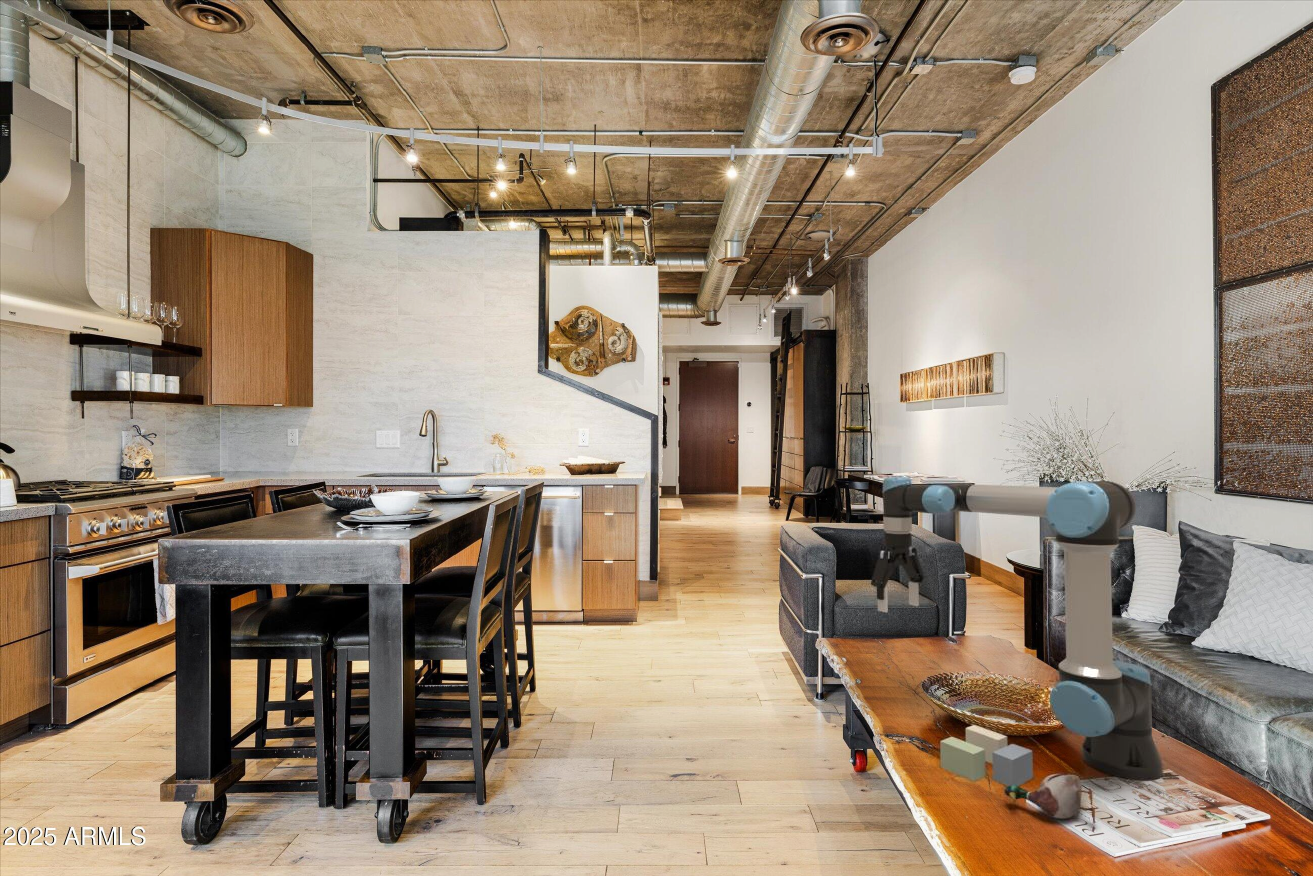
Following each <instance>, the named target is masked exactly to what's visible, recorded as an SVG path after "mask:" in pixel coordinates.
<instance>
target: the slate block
mask: <svg viewBox="0 0 1313 876" xmlns="http://www.w3.org/2000/svg"><path fill="white" fill-rule="evenodd" d="M992 753H993V764H992V780H993V781H995V782H997V783H999V784H1002V785H1005V786H1006V787H1008V786H1011V785H1016V786H1018V787H1020V786H1021V785H1022V784H1025V783H1026V782H1028V781H1030V780H1032V779H1034V769H1033V768H1034V764H1033V763H1034V762H1033V761H1034V760H1033V750H1032V749H1028V748H1026V747H1023V746H1020V745H1017V744H1015V743H1011V744H1009V745H1008V744H1007V746H1006V747H1004V748H1002V749H999V750H997V751H995V752H992Z"/></svg>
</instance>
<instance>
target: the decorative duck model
mask: <svg viewBox="0 0 1313 876" xmlns="http://www.w3.org/2000/svg"><path fill="white" fill-rule="evenodd" d="M1083 793H1085V794H1087V795H1088V796H1089V797H1088V798H1089V800H1090V806H1091V808H1090V807H1089V808H1088V807H1084V806H1083V807H1082V806H1081V804H1082V794H1083ZM1004 794H1005V796H1007V797H1009V798H1010V799H1011V800H1012V802H1013V803H1014V804H1016V801H1017V800H1019V799H1020V800H1021V799H1023V800H1027V801H1029V802H1031V803H1033V804H1034V805H1036V806H1037V807H1038V808H1039V809H1041V810H1042V811H1043V812H1044V813H1045V814H1047V815H1048V816H1050V817H1052V818H1054V819H1060V820H1061V819H1062V820H1063V819H1068V818H1072V817H1074V816H1075V815H1076V814H1078V813H1079V811H1080V810H1083V811H1084V810H1085V811H1090V812H1091V817H1092V821H1093V824H1095V821H1096V813H1095V812H1096V811H1095V807H1094V806H1093V791H1092V789H1091V788H1088V790H1084V789H1082V782H1081V778H1080V777H1079V776H1078V775H1075V774H1072V773H1056V774H1050V775H1048V776H1046V777H1045V778H1043V780H1042V781H1041V782H1040V785H1039V787H1038V788H1037V789H1036V790H1035V791H1029V790H1027V789H1024V788H1022V787H1020V786H1016V785H1011V786H1006V787H1005V789H1004Z"/></svg>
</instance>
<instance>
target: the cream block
mask: <svg viewBox="0 0 1313 876" xmlns="http://www.w3.org/2000/svg"><path fill="white" fill-rule="evenodd" d="M965 742H967V743H970V744H973V745H975V746H978V747H981V748H983V749H985V763H986V762H987V763H989V764H992V765H993V753H992V752H995V751H997V750H999V749H1002V748H1004V747H1006V746H1008V736H1007V735H1004V734H1001V733H998V732H996V731H992V730H990V729H987V728H985V727H981V726H978V725H976V724H973V725H970V726H967V727H965Z"/></svg>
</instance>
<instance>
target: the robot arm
mask: <svg viewBox="0 0 1313 876" xmlns="http://www.w3.org/2000/svg"><path fill="white" fill-rule="evenodd" d="M882 482H883V483H882V492H881V493H882V507H883V513H882V514H883V515H882V516H883V518H882V519H883V521H882V522H883V526H882V527H883V528H882V529H883V531H885V532H884V533H883V535H882V536H883V539H882V540H883V541H882V542H883V546H885V547H886V551H885V550H879V551H878V555H877V561H876V564H875V567H874V571H873V574H872V578H871V581H870V585H871V586H873V587H875V588H876V599H877V611H878V612H883V613H888V611H889V609H888V607H889V606H888V602H889V601H888V588H887V587H886V586H887V584H888V583H889V580H890V578H891V576H892V574H893V572H894V569H896V568H897V567H900V566H901V567H902V568H903V570H904V572H905V573H906V575H907V576H908V578H909V580H910V581H908V605H910V606H914V607H919V606H920V605H919V604H920V603H919V602H920V600H919V597H920V596H919V595H920V594H919V593H920V583H923V580H924V579H925V575H924V572H923V570H922V569H923V568H922V566H921V564H920V560H919V557H918V550H917V548H916V547H912V546H913V534H912V533H911V532H912V531H913V524H912V523H913V521H912V519H913V518H912V513H920V514H921V513H923V514H931V515H946V514H947V515H948V514H949V513H950V512H962V513H963V512H964V513H979V514H980V513H983V514H984V513H985V514H993V515H994V514H995V515H996V514H997V515H1011V516H1023V517H1037V518H1038V517H1039V518H1046V519H1047V522H1048V524H1049V526H1051V527H1052V528H1053V530H1054V531H1055V543H1056V544H1058V545H1059V546H1060V547H1061V548H1062V549H1063V558H1064V560H1063V564H1064V565H1063V566H1064V605H1065V606H1064V607H1065V609H1064V610H1065V616H1064V617H1065V645H1066V646H1065V649H1066V650H1065V651H1066V652H1065V653H1066V655H1065V658H1064V659H1063V660H1062V661H1060V662H1059V663H1058V682H1057V683H1056V684H1055V685H1054V686H1053V688H1052V689H1051V691H1050V695H1049V704H1050V708H1051V710H1052V713H1053V715H1054V717H1055V718H1056V719H1057V720H1059V722H1060V723H1061V724H1062V725H1063V726H1064V727H1065V729H1067V730H1069V731H1070V732H1072V733H1074V734H1076V735H1078V736H1081V737H1084V741H1083V742H1082V746H1081V757H1082V759H1083V761H1084V762H1085V763H1086V764H1087V765H1089V766H1091V767H1092V768H1094V769H1096V770H1098V771H1101V772H1103V773H1106V774H1109V775H1111V776H1115V777H1120V778H1125V779H1130V780H1137V781H1138V780H1140V781H1151V780H1156V779H1157V780H1158V779H1160V778H1161V777H1162V776H1163V774H1164V773H1163V772H1164V769H1163V760H1162V759H1161V756H1160V753H1159V751H1158V748H1157V745H1156V743H1155V741H1154V737H1153V729H1152V728H1153V723H1152V722H1153V719H1152V716H1153V715H1152V710H1153V709H1152V686H1153V684H1152V681H1151V674H1150V671H1149V670H1148V669H1147V668H1145V667H1143V666H1141V665H1137V664H1134V663H1131V662H1126V661H1120V660H1114V652H1113V651H1114V649H1113V648H1114V647H1113V646H1114V645H1113V644H1114V643H1113V605H1112V604H1113V601H1112V599H1113V598H1112V596H1113V595H1112V563H1111V562H1112V561H1111V558H1112V555H1111V553H1112V552H1113V551H1114V550H1115V549H1116V548H1118V546H1120V542H1119V541H1120V539H1119V538H1120V537H1119V535H1120V534H1119V531H1120V530H1122V529H1124V528H1126V527H1127V526H1128V525H1130V524H1131V522H1132V521H1133V520H1134V518H1135V516H1136V509H1137V506H1136V504H1137V503H1136V501H1135V499H1134V496H1133V495H1132V493H1131V492H1130V491H1129V490H1128V489H1127V488H1126V487H1124V486H1123V485H1122V484H1119V483H1117V482H1114V481H1109V480H1097V481H1090V480H1089V481H1083V480H1082V481H1081V480H1080V481H1073V482H1070V483H1069V482H1068V483H1066V484H1063V485H1061V486H1059V487H1058V486H1056V487H1055V486H1028V485H1027V486H1025V485H1023V486H1022V485H998V484H997V485H995V484H967V483H954V484H953V483H952V484H950V483H949V484H912V480H911V478H910V477H908V476H906V477H905V476H902V477H901V476H889V477H888V476H887V477H885V478H883V481H882Z"/></svg>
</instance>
